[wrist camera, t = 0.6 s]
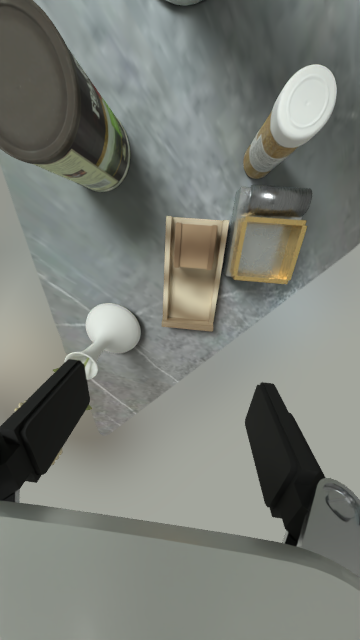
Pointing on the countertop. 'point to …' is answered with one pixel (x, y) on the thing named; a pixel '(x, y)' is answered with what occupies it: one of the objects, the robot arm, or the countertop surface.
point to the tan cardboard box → (195, 246)
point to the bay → (191, 282)
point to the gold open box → (266, 233)
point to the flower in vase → (105, 338)
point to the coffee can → (54, 104)
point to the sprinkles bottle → (292, 119)
